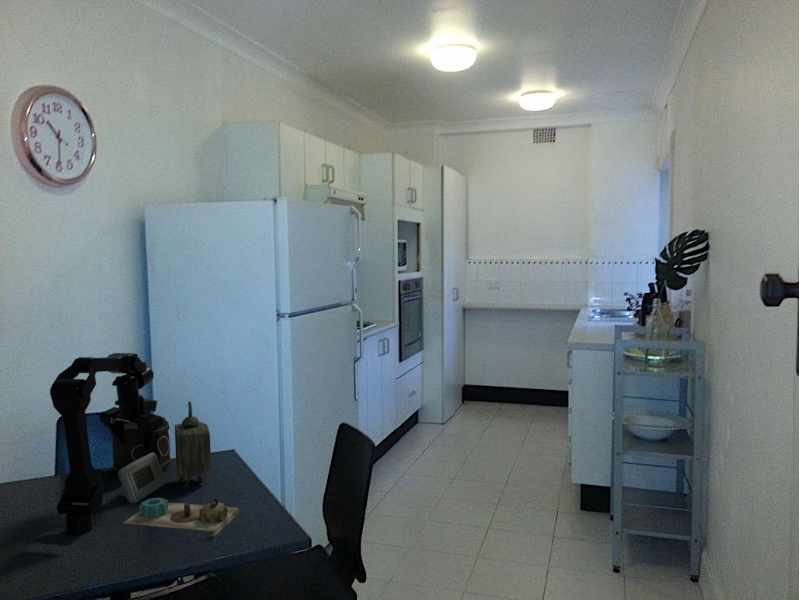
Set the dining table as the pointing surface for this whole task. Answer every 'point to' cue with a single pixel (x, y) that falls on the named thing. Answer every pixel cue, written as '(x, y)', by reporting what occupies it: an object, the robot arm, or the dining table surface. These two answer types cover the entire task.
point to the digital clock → (141, 478)
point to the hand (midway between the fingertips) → (134, 446)
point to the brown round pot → (141, 446)
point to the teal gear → (154, 507)
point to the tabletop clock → (192, 447)
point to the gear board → (191, 517)
